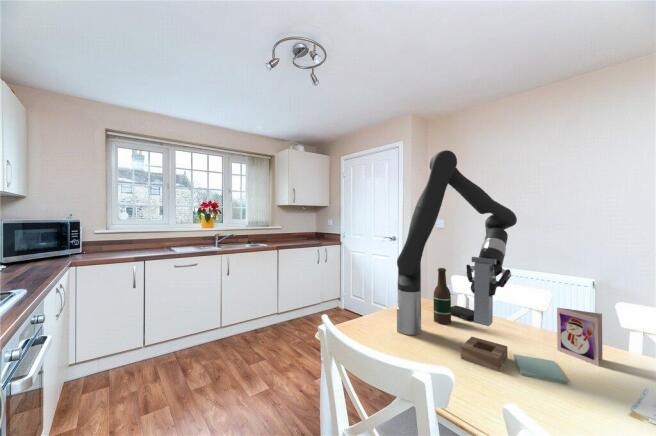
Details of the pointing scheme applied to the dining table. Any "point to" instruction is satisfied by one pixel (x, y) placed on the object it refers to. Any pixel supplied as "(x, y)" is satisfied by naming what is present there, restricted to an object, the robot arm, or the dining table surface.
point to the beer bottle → (442, 299)
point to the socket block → (484, 353)
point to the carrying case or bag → (462, 312)
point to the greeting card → (580, 334)
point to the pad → (539, 368)
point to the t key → (483, 290)
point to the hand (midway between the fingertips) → (481, 293)
